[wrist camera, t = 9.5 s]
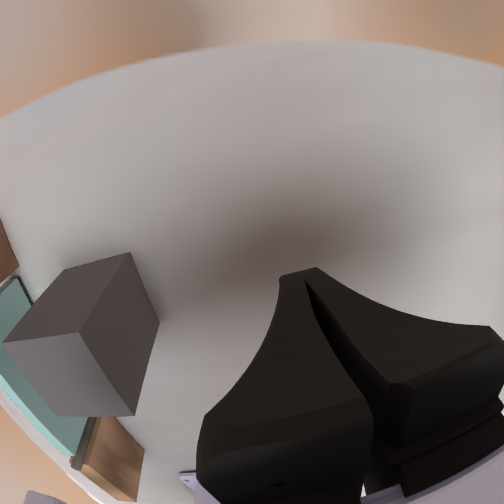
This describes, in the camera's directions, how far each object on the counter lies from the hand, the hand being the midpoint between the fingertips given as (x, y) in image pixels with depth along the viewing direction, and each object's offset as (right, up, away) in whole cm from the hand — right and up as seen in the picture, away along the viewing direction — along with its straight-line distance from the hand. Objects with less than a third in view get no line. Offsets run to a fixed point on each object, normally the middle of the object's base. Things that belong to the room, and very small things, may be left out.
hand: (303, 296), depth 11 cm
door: (-14, -4, +4) cm, 15 cm away
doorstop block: (-9, -1, +4) cm, 10 cm away
